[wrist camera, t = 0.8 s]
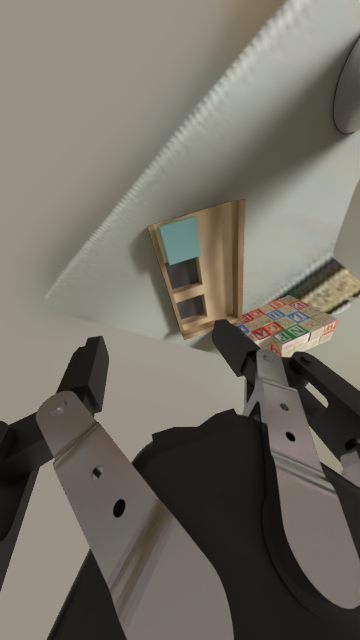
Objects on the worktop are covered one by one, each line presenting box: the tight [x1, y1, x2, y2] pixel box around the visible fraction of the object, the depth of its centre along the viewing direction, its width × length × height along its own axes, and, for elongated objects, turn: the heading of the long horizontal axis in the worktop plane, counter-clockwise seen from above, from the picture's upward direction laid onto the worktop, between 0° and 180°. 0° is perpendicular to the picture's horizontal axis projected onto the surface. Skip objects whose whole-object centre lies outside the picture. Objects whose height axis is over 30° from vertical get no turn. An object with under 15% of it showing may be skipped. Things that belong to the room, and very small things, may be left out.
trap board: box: [148, 199, 245, 340], centre depth 29 cm, size 14×22×4 cm, turn 14°
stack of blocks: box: [232, 295, 338, 357], centre depth 36 cm, size 21×6×12 cm, turn 110°
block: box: [157, 217, 201, 265], centre depth 22 cm, size 5×5×3 cm
